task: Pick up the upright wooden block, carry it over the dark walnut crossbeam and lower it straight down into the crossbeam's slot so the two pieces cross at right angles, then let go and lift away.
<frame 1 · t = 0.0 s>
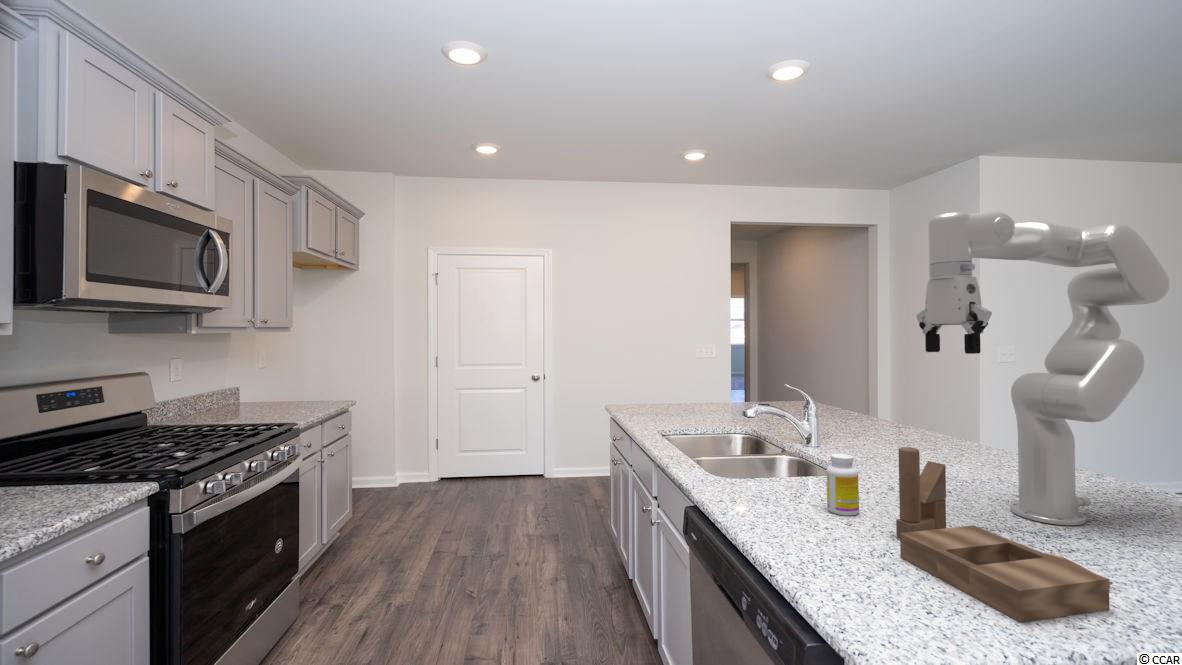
hand: (951, 352, 111), 37 cm above the countertop, tool pointing down, fingers open, 9 cm apart
slotted crossbeam: (993, 580, 86), on the countertop
supplement bottle: (842, 512, 120), on the countertop
wooden block: (921, 536, 106), on the countertop
shard: (1065, 573, 90), on the countertop
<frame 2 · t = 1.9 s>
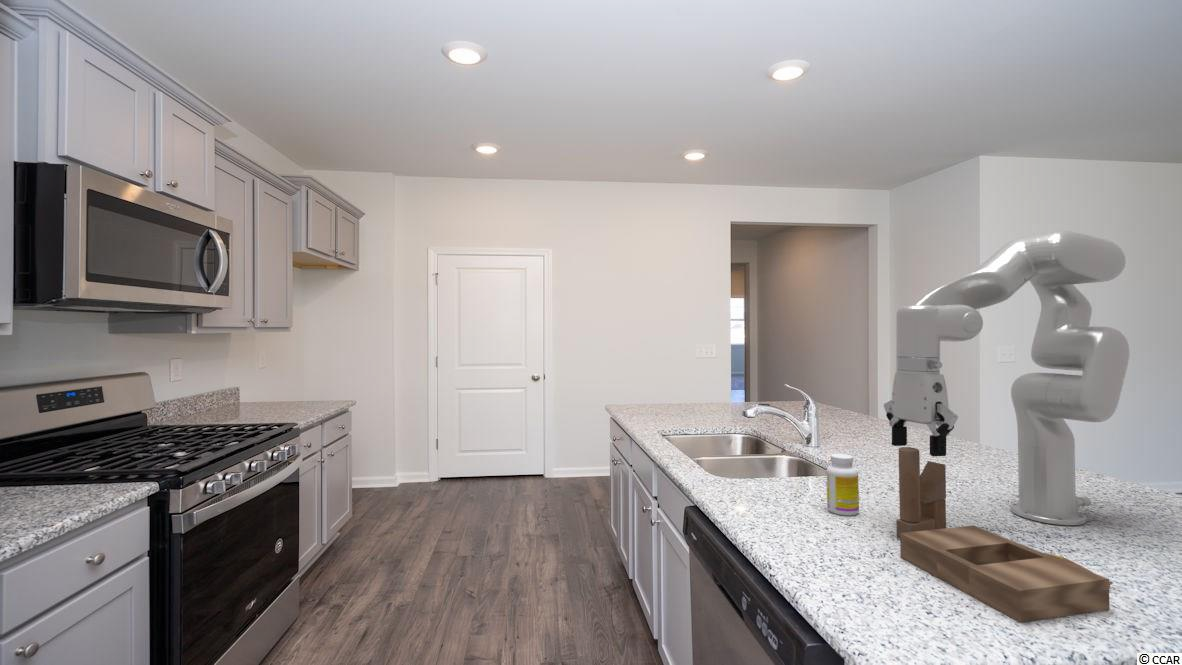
hand: (917, 450, 106), 17 cm above the countertop, tool pointing down, fingers open, 9 cm apart
nothing on the countertop moved.
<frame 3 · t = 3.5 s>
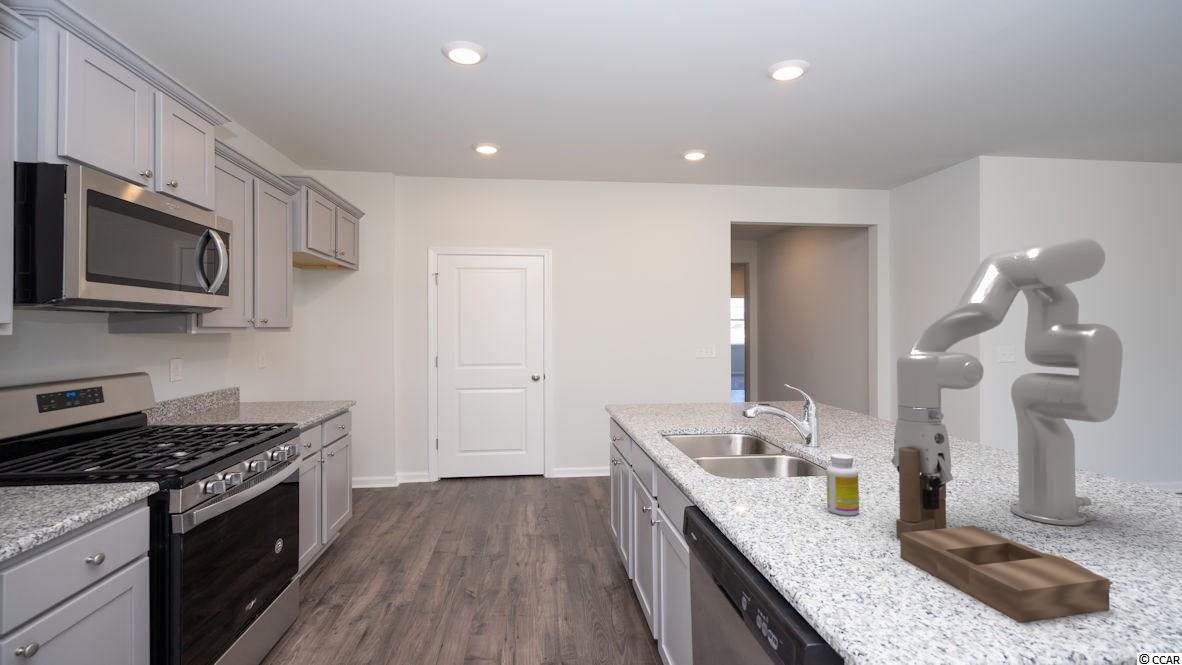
hand: (920, 503, 106), 6 cm above the countertop, tool pointing down, fingers closed on wooden block, 4 cm apart
wooden block: (921, 536, 106), on the countertop, touching gripper
everything else where it was.
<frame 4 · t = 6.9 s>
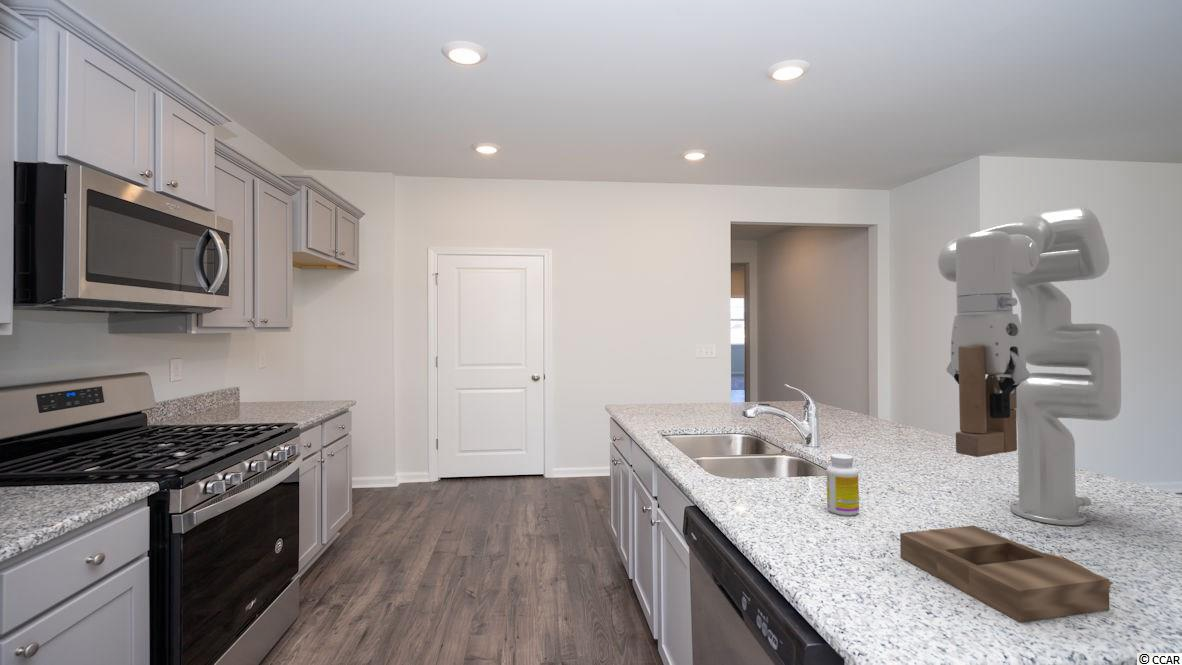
hand: (985, 414, 87), 27 cm above the countertop, tool pointing down, fingers closed on wooden block, 4 cm apart
wooden block: (986, 453, 87), point 21 cm above the countertop, touching gripper
everything else where it was.
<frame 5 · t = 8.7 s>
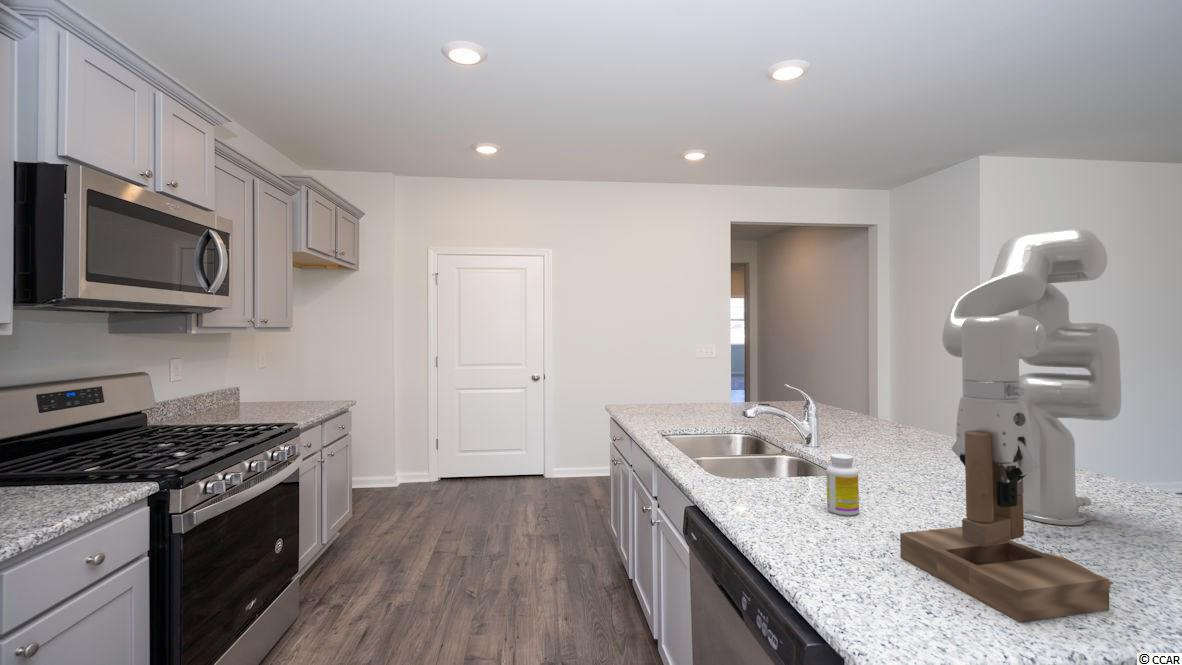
hand: (992, 500, 86), 13 cm above the countertop, tool pointing down, fingers closed on wooden block, 4 cm apart
wooden block: (993, 539, 86), point 7 cm above the countertop, touching gripper
everything else where it was.
when the fingers open (8 cm above the countertop, at t = 10.4 s): wooden block drops 1 cm, on the countertop.
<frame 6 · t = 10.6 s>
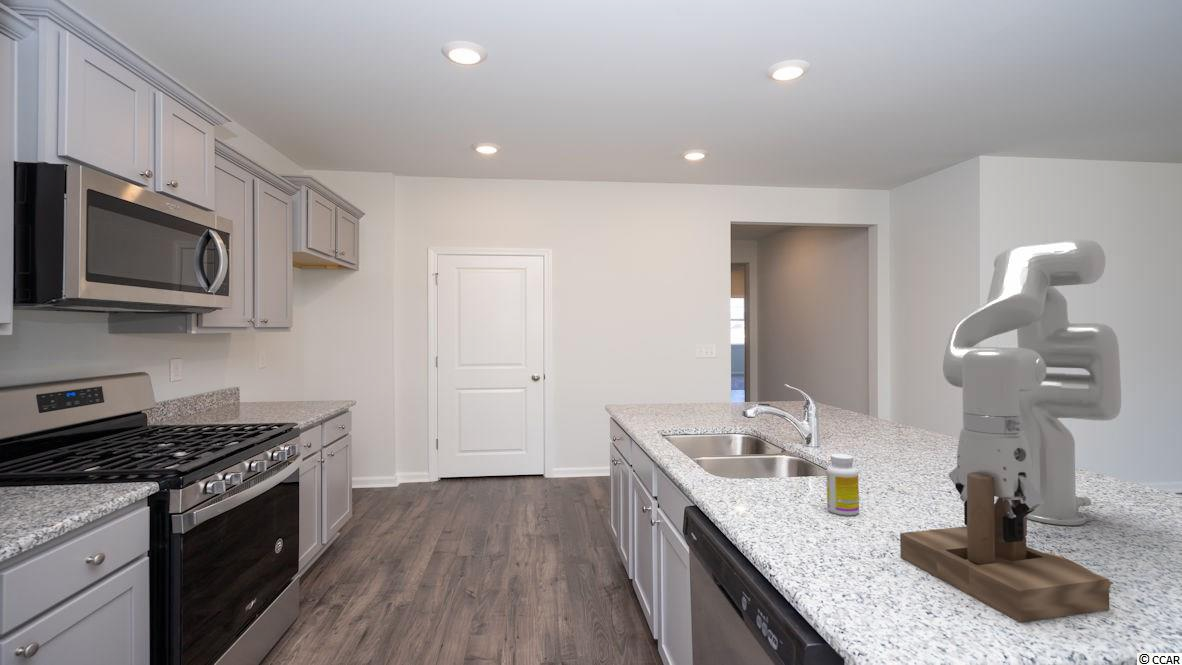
hand: (992, 531, 86), 8 cm above the countertop, tool pointing down, fingers open, 6 cm apart
wooden block: (994, 581, 86), on the countertop
everything else where it was.
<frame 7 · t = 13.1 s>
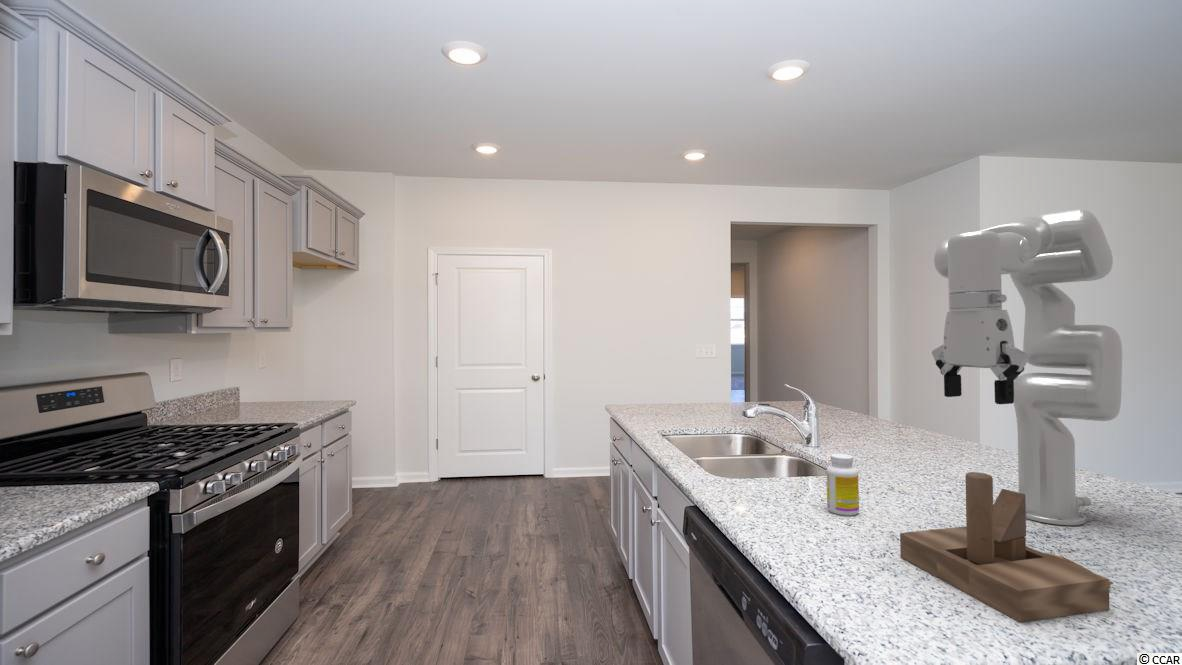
hand: (977, 399, 92), 29 cm above the countertop, tool pointing down, fingers open, 9 cm apart
nothing on the countertop moved.
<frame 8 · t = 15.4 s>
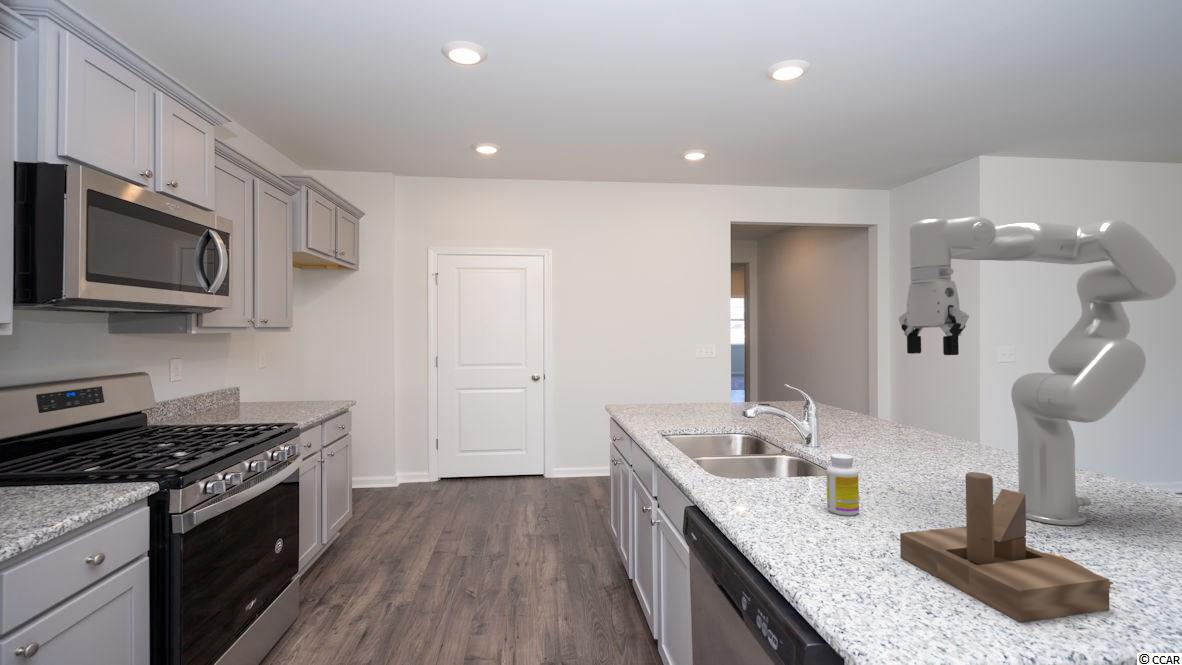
hand: (931, 354, 114), 36 cm above the countertop, tool pointing down, fingers open, 9 cm apart
nothing on the countertop moved.
at the end: wooden block 0.2 cm off-centre on the slotted crossbeam, point 0.0 cm above the slotted crossbeam's base; wooden block tilted 0°; the gripper is holding nothing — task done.
